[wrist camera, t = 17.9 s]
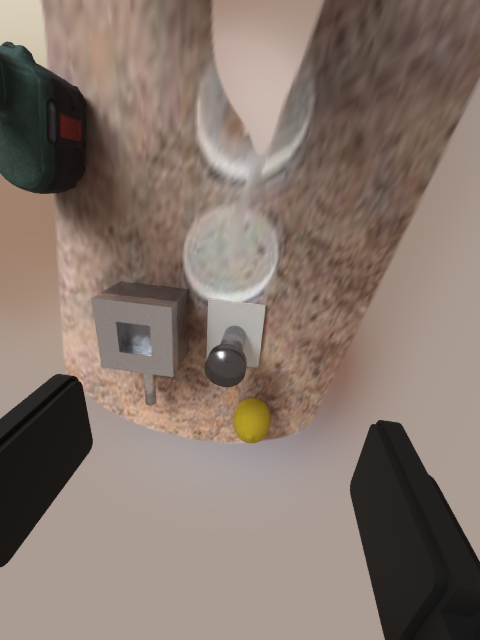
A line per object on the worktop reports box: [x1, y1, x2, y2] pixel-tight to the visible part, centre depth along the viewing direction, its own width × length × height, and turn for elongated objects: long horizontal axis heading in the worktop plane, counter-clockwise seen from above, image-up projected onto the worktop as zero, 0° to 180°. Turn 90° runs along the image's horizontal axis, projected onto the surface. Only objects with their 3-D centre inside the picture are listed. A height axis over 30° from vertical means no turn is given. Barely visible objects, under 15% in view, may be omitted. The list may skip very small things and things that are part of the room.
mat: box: [206, 299, 266, 368], centre depth 42 cm, size 10×8×1 cm
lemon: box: [234, 398, 270, 443], centre depth 43 cm, size 6×6×8 cm
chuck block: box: [91, 282, 189, 405], centre depth 41 cm, size 18×10×7 cm, turn 175°
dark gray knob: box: [205, 326, 247, 387], centre depth 37 cm, size 5×5×9 cm
